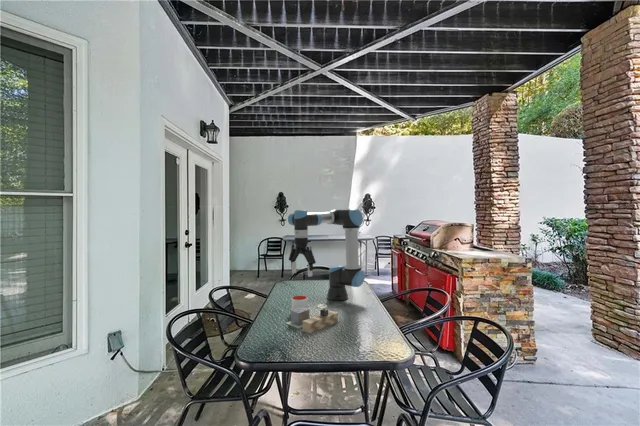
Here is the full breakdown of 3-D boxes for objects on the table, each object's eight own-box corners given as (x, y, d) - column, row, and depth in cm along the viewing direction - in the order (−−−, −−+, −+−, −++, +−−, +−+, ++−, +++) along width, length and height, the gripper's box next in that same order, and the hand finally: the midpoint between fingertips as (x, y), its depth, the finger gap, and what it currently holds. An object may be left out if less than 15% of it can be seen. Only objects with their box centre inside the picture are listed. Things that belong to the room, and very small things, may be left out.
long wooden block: (330, 319, 170) (330, 310, 170) (337, 321, 166) (337, 312, 166) (302, 330, 154) (302, 321, 154) (309, 333, 150) (309, 323, 151)
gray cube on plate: (301, 318, 170) (301, 306, 170) (309, 321, 165) (309, 309, 165) (290, 322, 164) (290, 310, 164) (298, 326, 159) (298, 313, 159)
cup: (305, 317, 174) (305, 300, 174) (289, 316, 176) (289, 299, 176) (309, 311, 184) (309, 295, 184) (294, 310, 186) (294, 295, 186)
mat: (301, 317, 173) (301, 317, 173) (314, 322, 165) (314, 321, 165) (285, 323, 164) (285, 322, 164) (298, 328, 157) (298, 328, 157)
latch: (324, 313, 164) (323, 306, 164) (328, 315, 162) (328, 308, 162) (320, 315, 162) (320, 308, 162) (324, 316, 160) (324, 309, 160)
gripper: (282, 236, 172) (283, 272, 172) (311, 238, 154) (312, 279, 154) (292, 235, 177) (292, 270, 177) (321, 237, 159) (322, 276, 160)
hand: (302, 274), depth 166 cm, fingers open, 13 cm apart
